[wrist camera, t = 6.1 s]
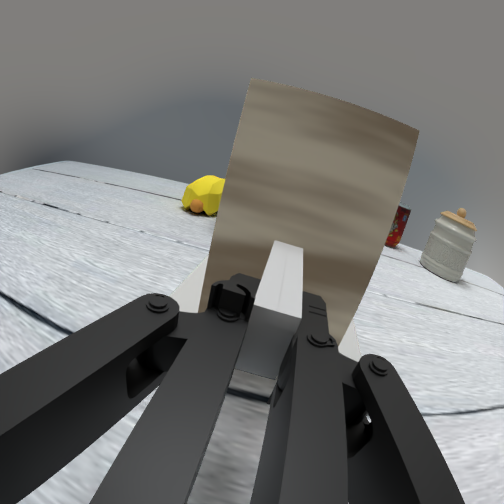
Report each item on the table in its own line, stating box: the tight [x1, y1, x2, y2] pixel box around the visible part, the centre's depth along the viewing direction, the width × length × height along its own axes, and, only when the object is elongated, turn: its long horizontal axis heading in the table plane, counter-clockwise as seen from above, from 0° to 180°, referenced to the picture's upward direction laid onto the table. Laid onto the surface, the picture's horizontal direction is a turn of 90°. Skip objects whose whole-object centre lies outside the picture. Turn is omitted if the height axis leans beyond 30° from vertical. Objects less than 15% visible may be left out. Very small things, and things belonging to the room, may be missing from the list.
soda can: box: [385, 202, 411, 248], centre depth 70 cm, size 7×7×12 cm
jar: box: [420, 208, 477, 282], centre depth 59 cm, size 13×13×18 cm
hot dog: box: [182, 176, 225, 216], centre depth 59 cm, size 18×7×8 cm
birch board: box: [198, 78, 419, 346], centre depth 18 cm, size 4×10×18 cm, turn 80°
